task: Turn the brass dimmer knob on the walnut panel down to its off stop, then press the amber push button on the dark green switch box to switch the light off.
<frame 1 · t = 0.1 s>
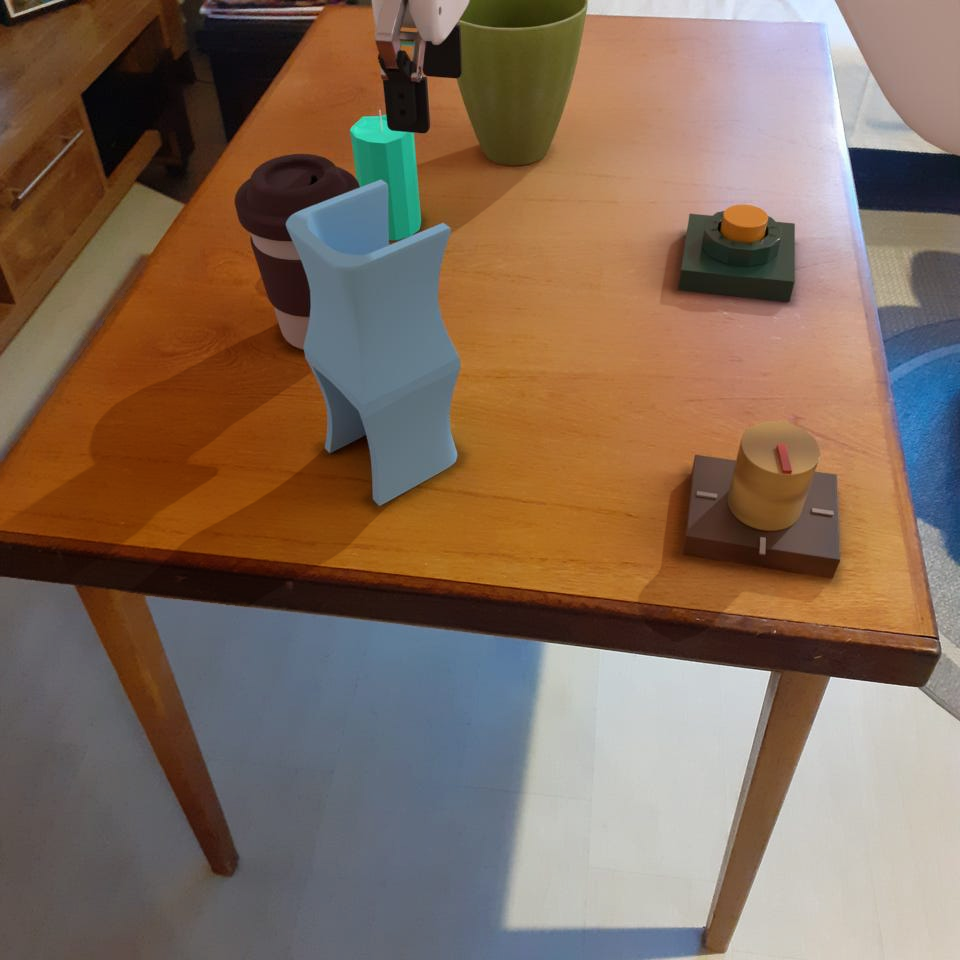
hand: (426, 101, 72), 18 cm above the table, tool pointing down, fingers open, 9 cm apart
flower pot: (514, 152, 105), on the table
coffee cup: (323, 330, 83), on the table
knob: (772, 474, 62), point 5 cm above the table, hinge at 100.0°
button: (744, 224, 84), point 4 cm above the table, slide at 0.1 cm
light blue open shell: (394, 455, 71), on the table
switch box: (735, 266, 88), on the table
dimmer: (758, 523, 65), on the table
candle: (392, 226, 95), on the table
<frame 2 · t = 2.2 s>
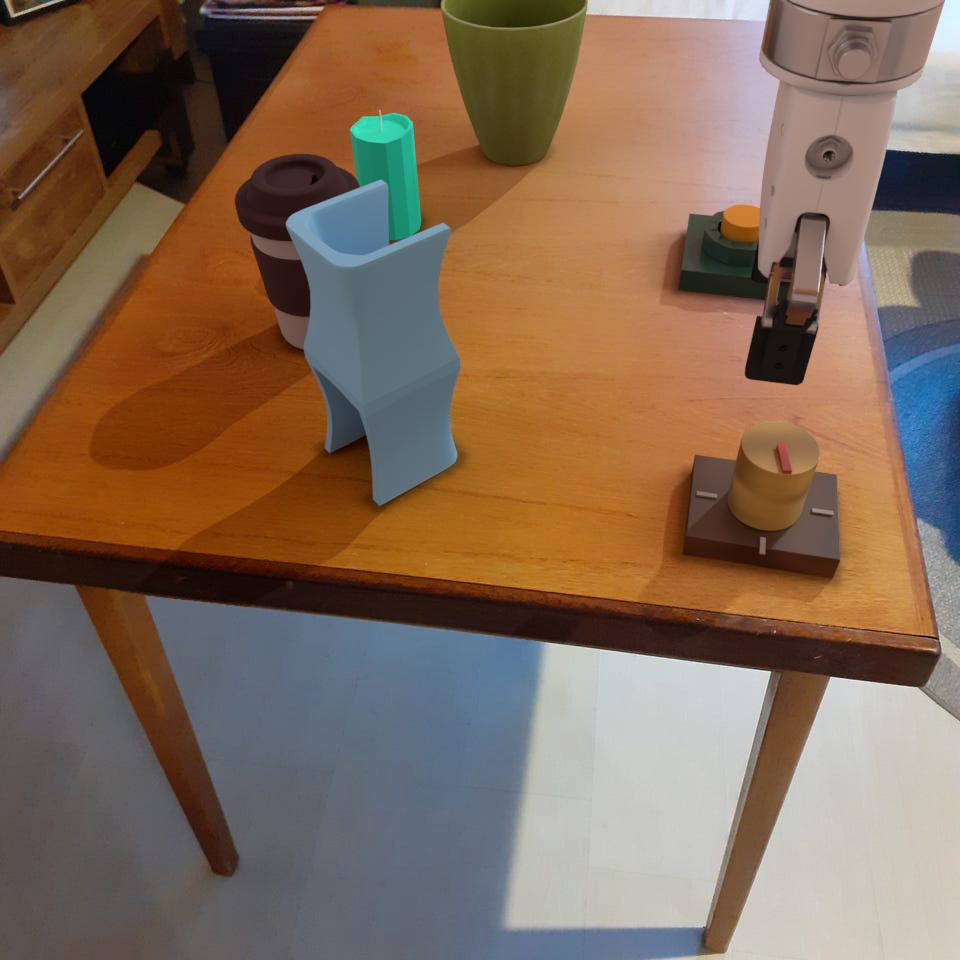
hand: (774, 327, 55), 16 cm above the table, tool pointing down, fingers open, 9 cm apart
nothing on the table moved.
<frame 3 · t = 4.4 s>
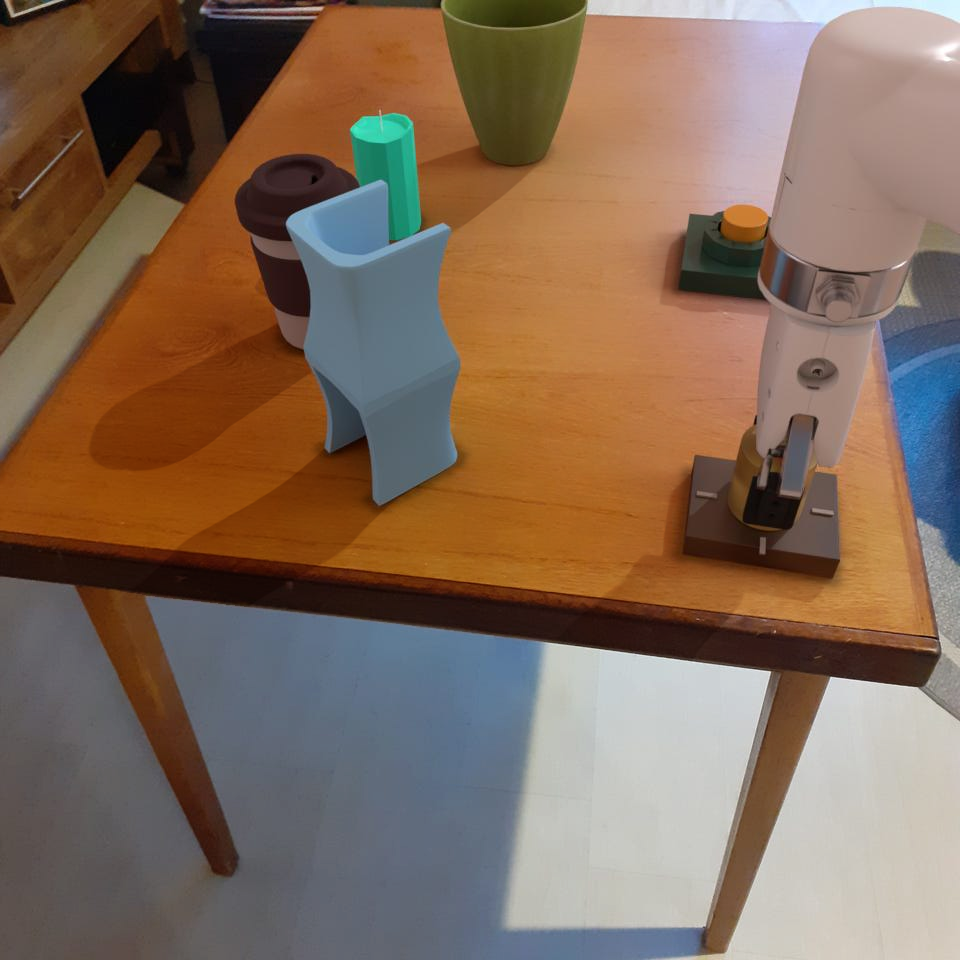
hand: (767, 490, 63), 3 cm above the table, tool pointing down, fingers closed on knob, 5 cm apart
knob: (772, 474, 62), point 5 cm above the table, hinge at 99.9°, touching gripper
everything else where it was.
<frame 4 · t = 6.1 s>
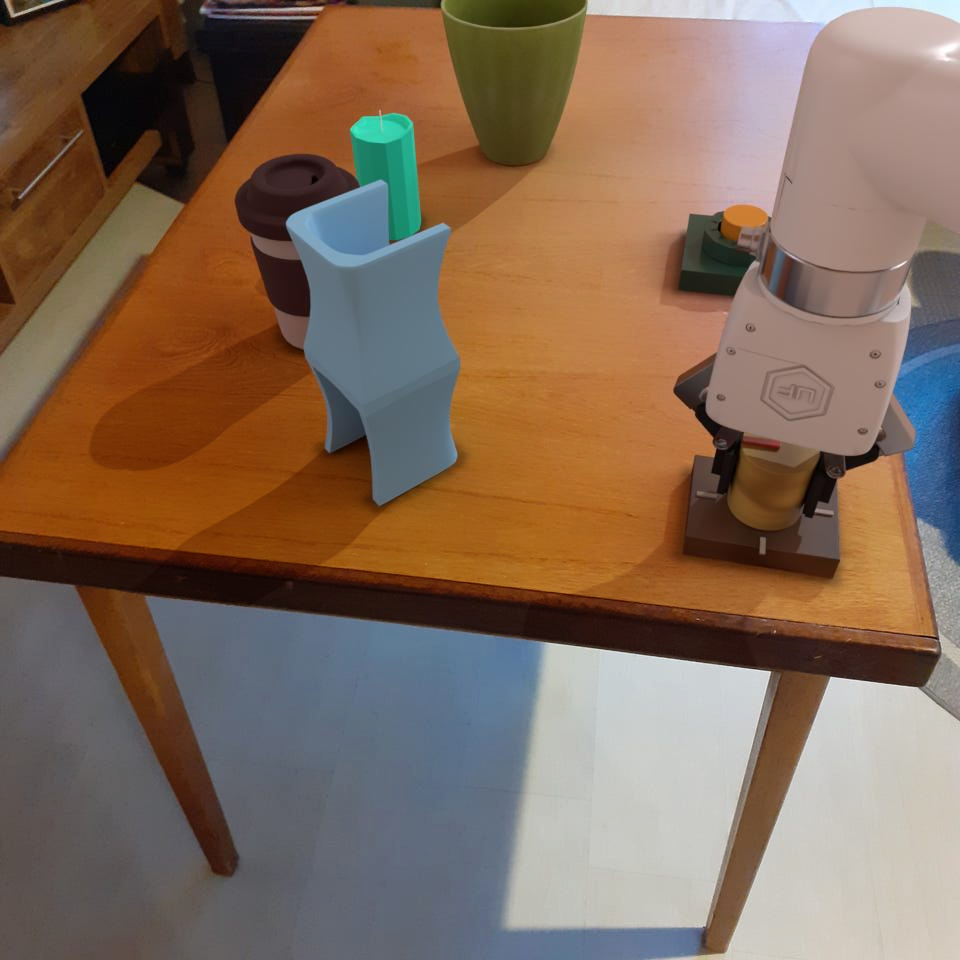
hand: (767, 489, 63), 3 cm above the table, tool pointing down, fingers closed on knob, 5 cm apart
knob: (772, 474, 62), point 5 cm above the table, hinge at -0.5°, touching gripper
everything else where it was.
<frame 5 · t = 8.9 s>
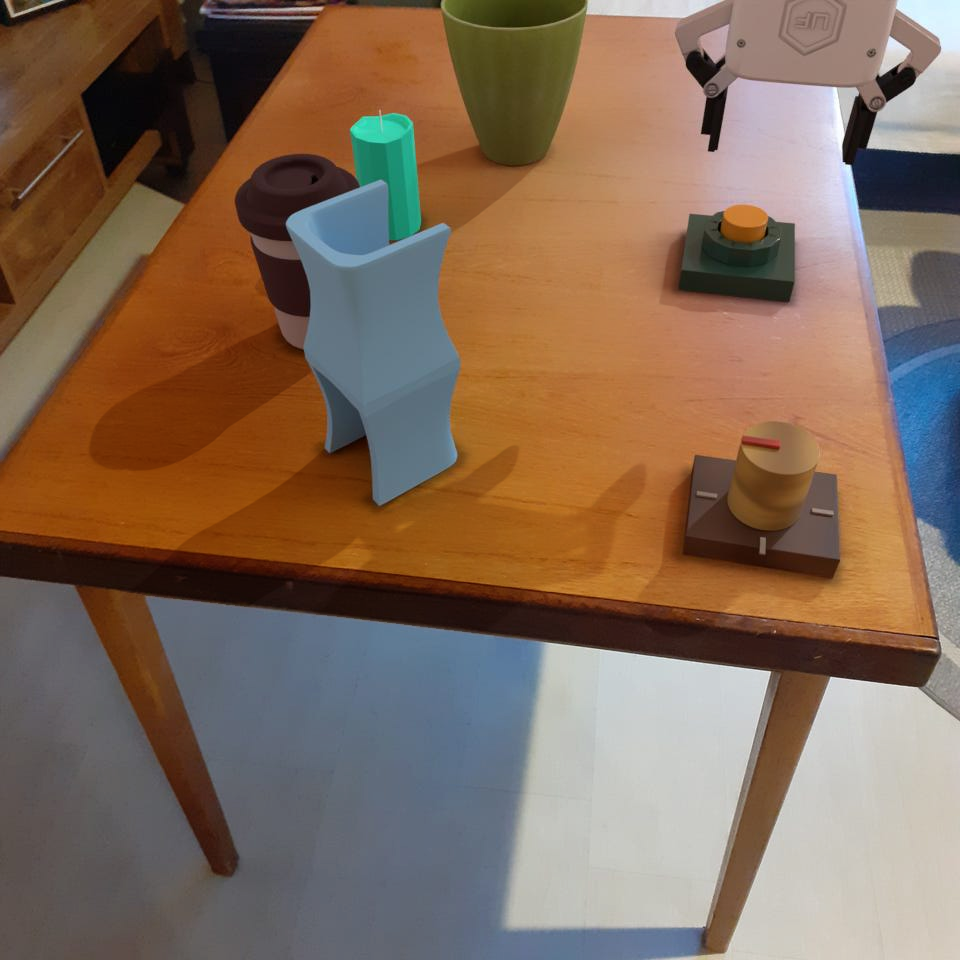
hand: (779, 149, 68), 17 cm above the table, tool pointing down, fingers open, 9 cm apart
knob: (772, 474, 62), point 5 cm above the table, hinge at -0.5°
everything else where it was.
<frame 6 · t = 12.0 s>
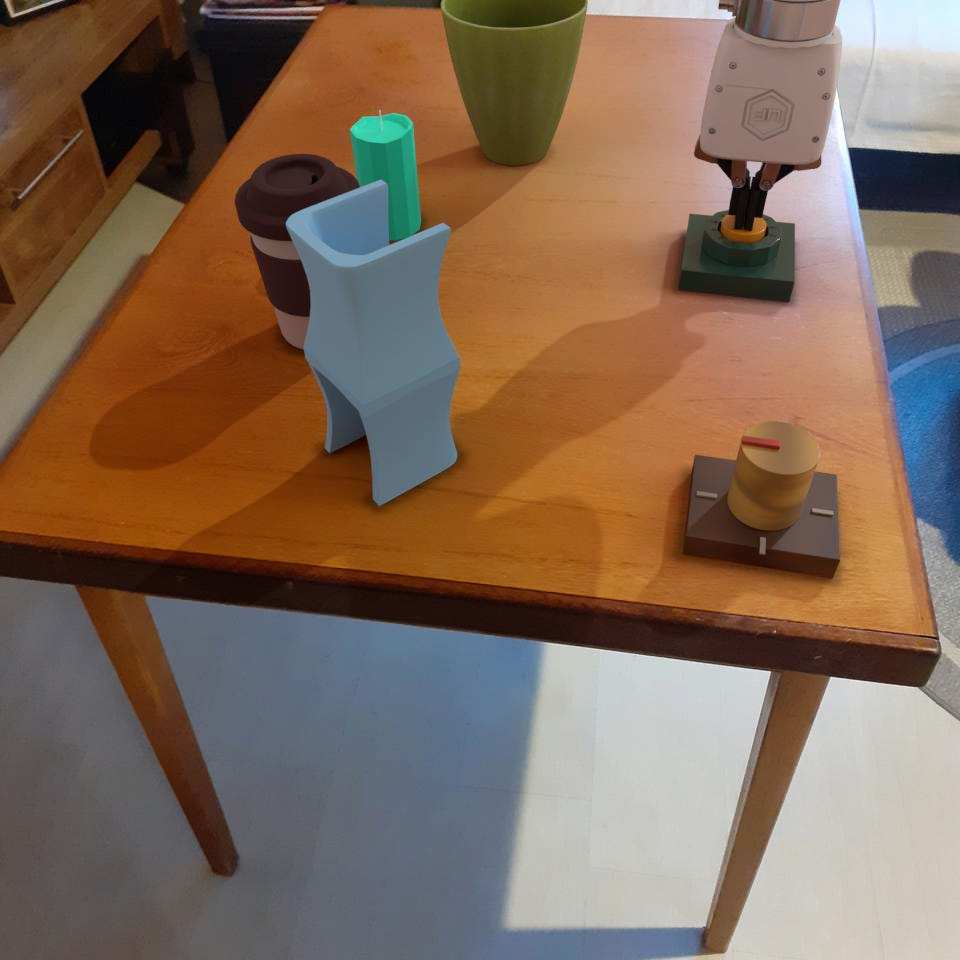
hand: (743, 221, 84), 5 cm above the table, tool pointing down, fingers closed
button: (742, 231, 85), point 4 cm above the table, slide at -0.7 cm, touching gripper
everything else where it was.
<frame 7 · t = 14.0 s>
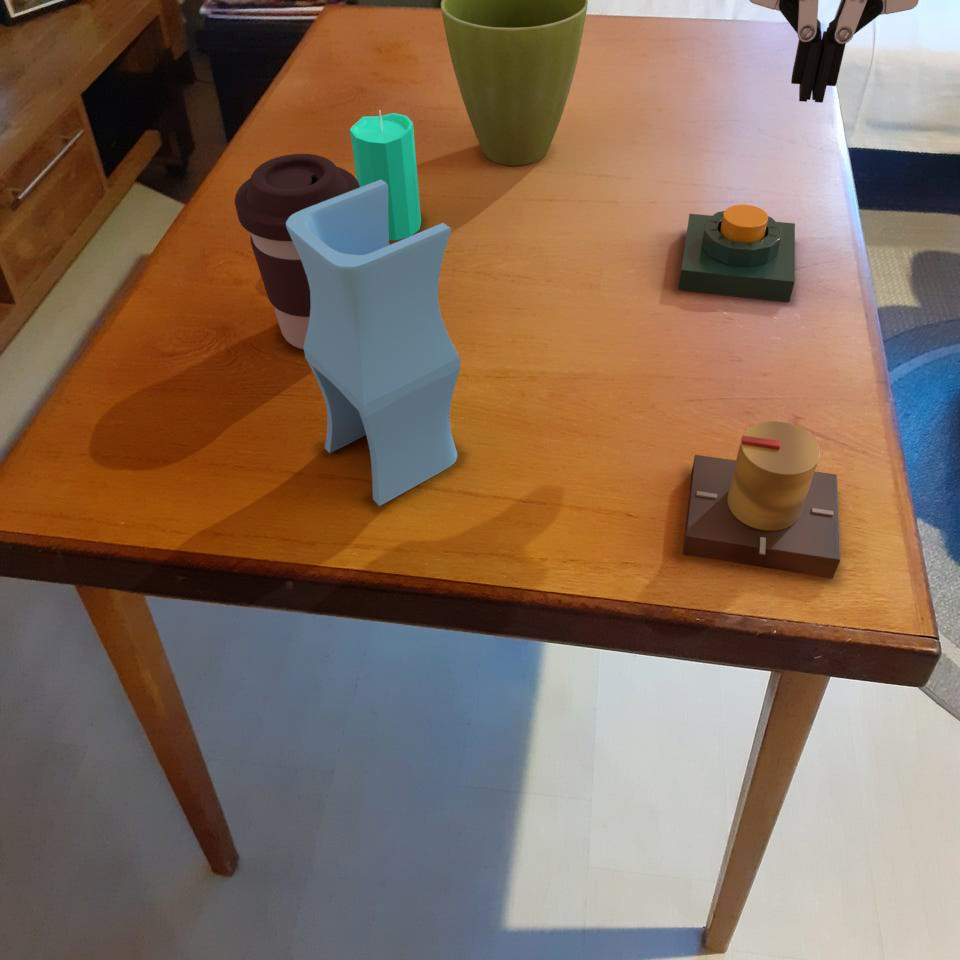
hand: (810, 93, 65), 21 cm above the table, tool pointing down, fingers closed
button: (744, 224, 84), point 4 cm above the table, slide at 0.1 cm
everything else where it was.
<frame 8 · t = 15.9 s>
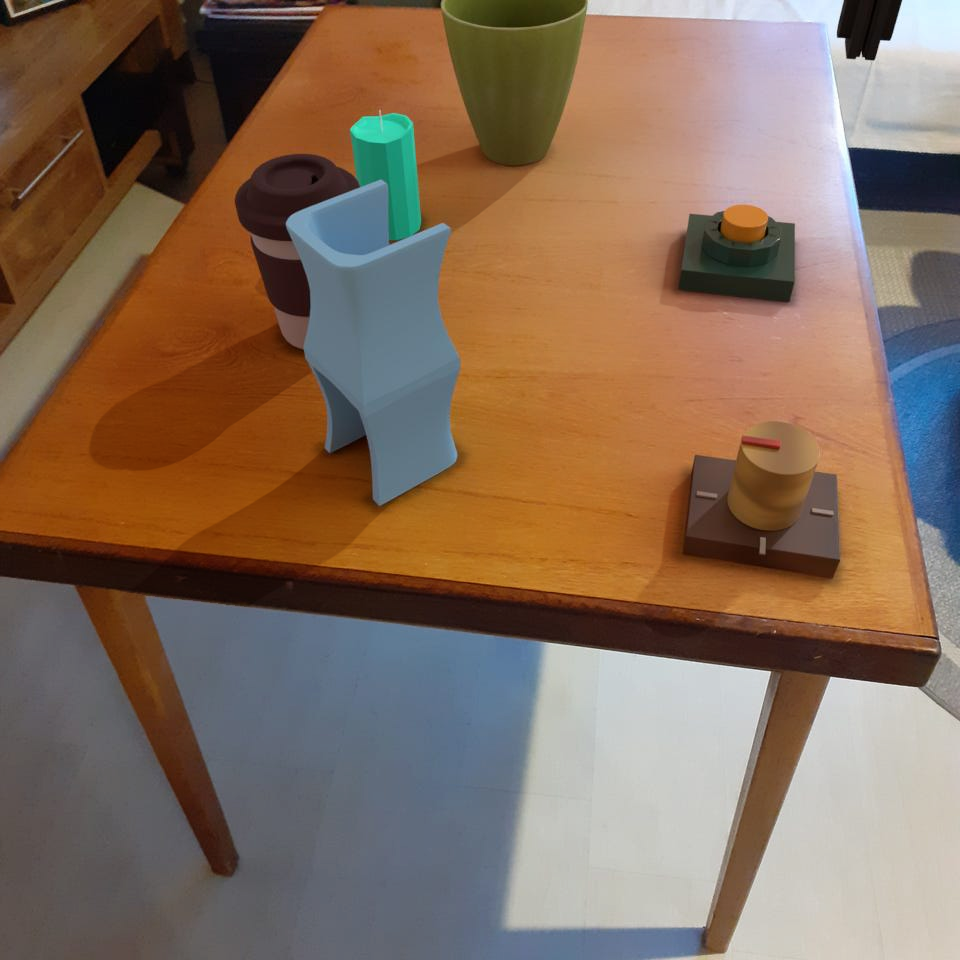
hand: (859, 50, 55), 27 cm above the table, tool pointing down, fingers closed
nothing on the table moved.
at the end: knob at +0° (first picture: +100°); button pushed in 1.0 cm at the most during the clip, back to where it started at the end; button slide at 0.1 cm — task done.
